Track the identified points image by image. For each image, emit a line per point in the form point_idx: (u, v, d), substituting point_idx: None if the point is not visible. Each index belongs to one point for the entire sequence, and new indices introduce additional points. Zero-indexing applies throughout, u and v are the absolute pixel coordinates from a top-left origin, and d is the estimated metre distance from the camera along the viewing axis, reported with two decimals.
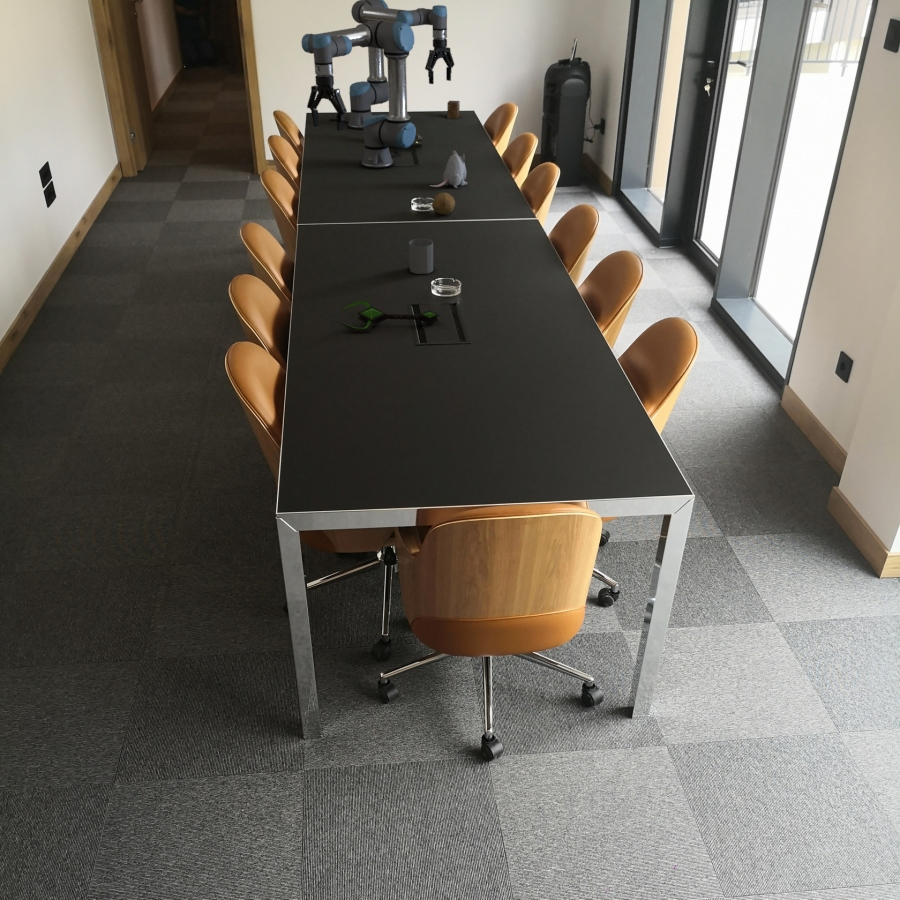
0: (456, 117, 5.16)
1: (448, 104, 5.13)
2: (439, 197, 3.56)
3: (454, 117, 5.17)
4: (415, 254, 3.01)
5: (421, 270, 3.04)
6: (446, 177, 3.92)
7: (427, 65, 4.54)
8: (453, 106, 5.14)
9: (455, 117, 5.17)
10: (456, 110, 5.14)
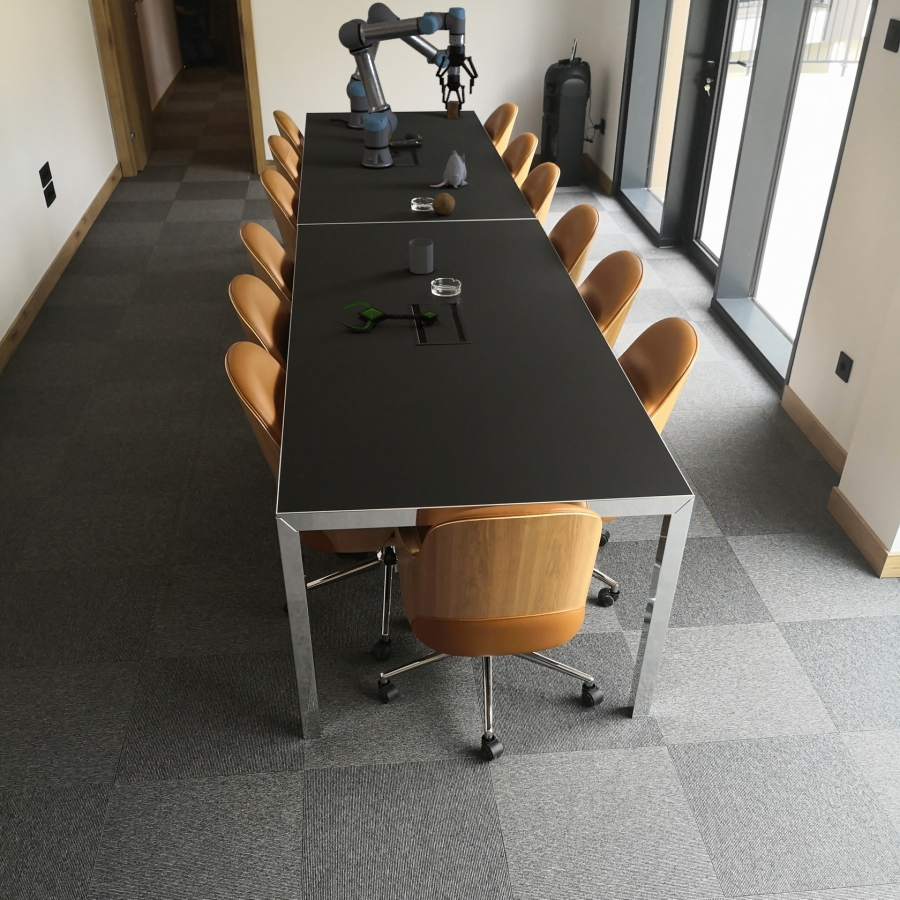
0: (456, 117, 5.16)
1: (448, 104, 5.13)
2: (439, 197, 3.56)
3: (454, 117, 5.17)
4: (415, 254, 3.01)
5: (421, 270, 3.04)
6: (446, 177, 3.92)
7: None
8: (453, 106, 5.14)
9: (455, 117, 5.17)
10: (456, 110, 5.14)
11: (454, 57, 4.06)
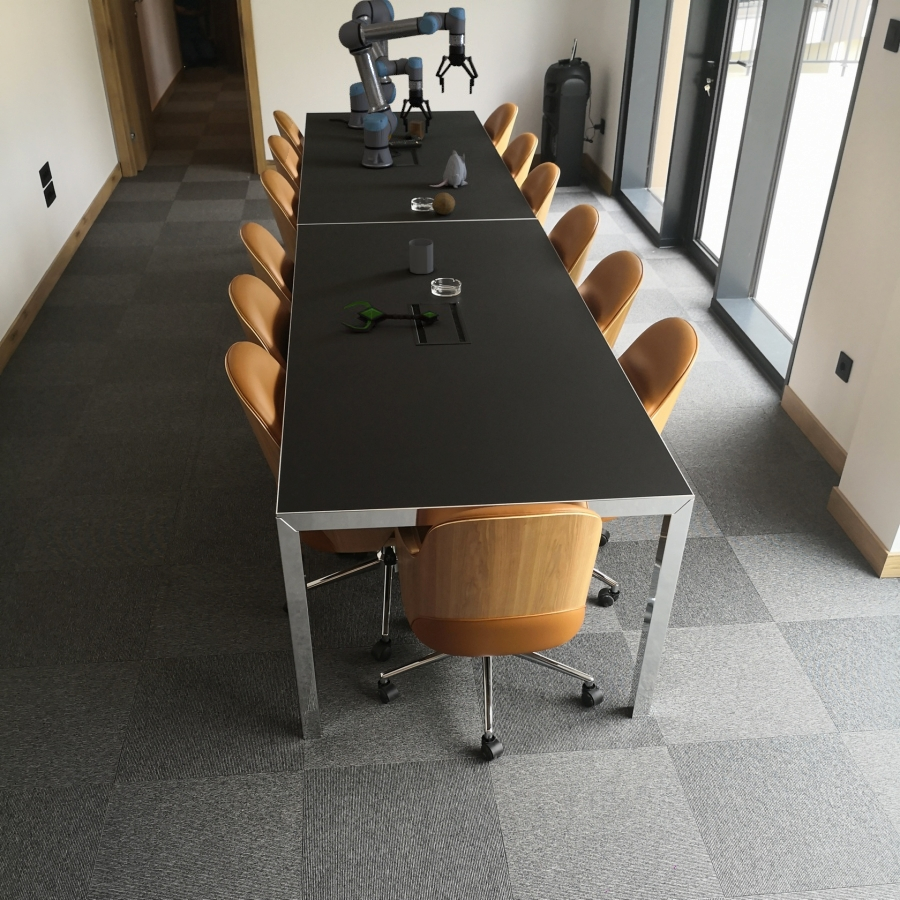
0: None
1: (410, 124, 4.68)
2: (439, 197, 3.56)
3: None
4: (415, 254, 3.01)
5: (421, 270, 3.04)
6: (446, 177, 3.92)
7: (401, 113, 4.69)
8: (415, 127, 4.68)
9: None
10: (419, 131, 4.69)
11: (454, 57, 4.06)
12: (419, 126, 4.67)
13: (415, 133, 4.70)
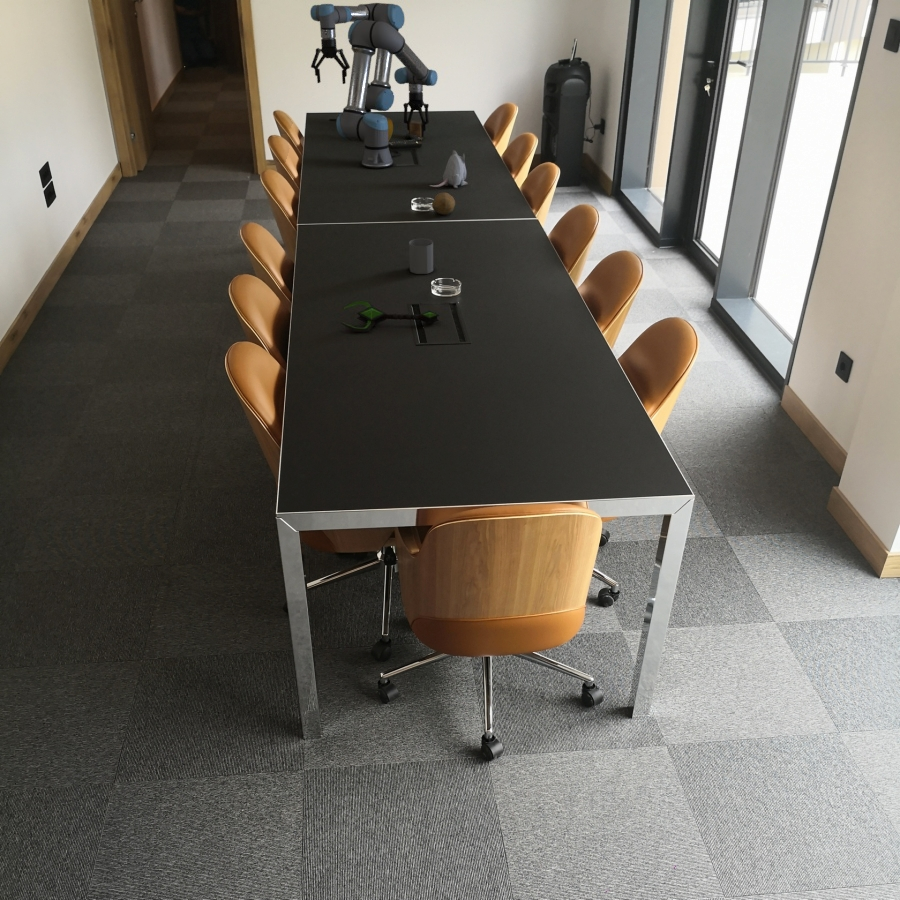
0: None
1: (410, 124, 4.68)
2: (439, 197, 3.56)
3: None
4: (415, 254, 3.01)
5: (421, 270, 3.04)
6: (446, 177, 3.92)
7: None
8: (415, 127, 4.68)
9: None
10: (419, 131, 4.69)
11: (413, 102, 4.63)
12: (419, 126, 4.67)
13: (415, 133, 4.70)
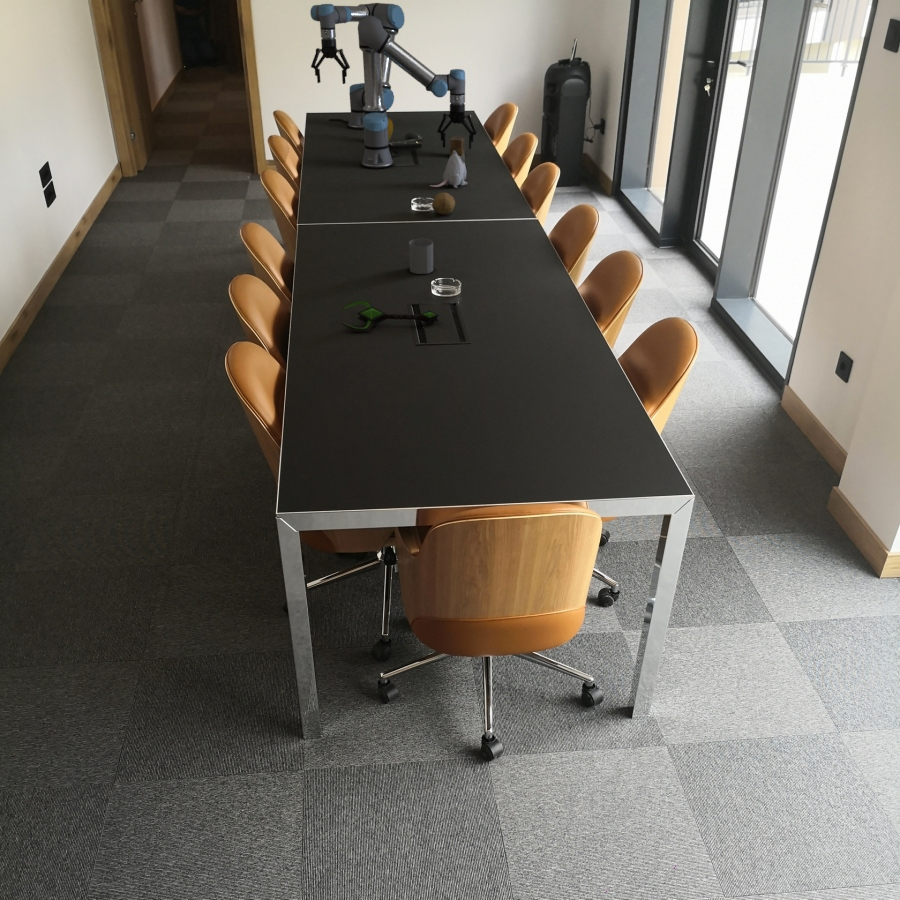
0: None
1: (451, 141, 4.36)
2: (439, 197, 3.56)
3: None
4: (415, 254, 3.01)
5: (421, 270, 3.04)
6: (446, 177, 3.92)
7: None
8: (456, 144, 4.36)
9: None
10: (460, 148, 4.37)
11: (454, 115, 4.31)
12: (460, 143, 4.35)
13: (456, 150, 4.38)
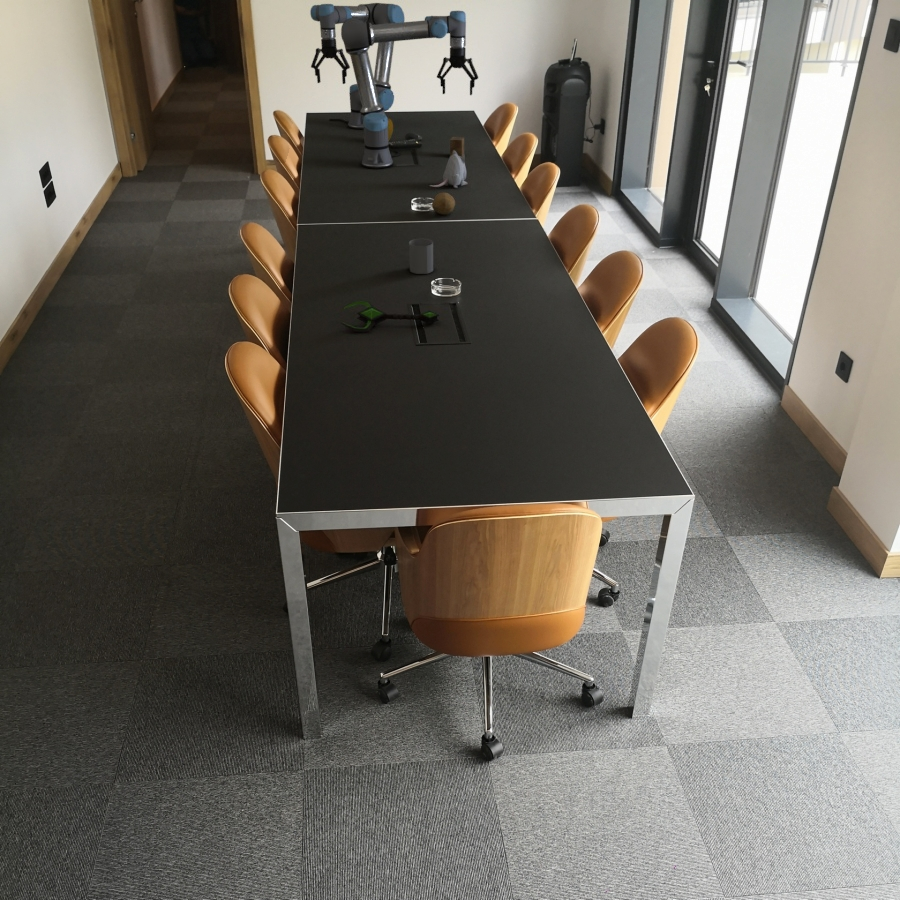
0: None
1: (451, 141, 4.36)
2: (439, 197, 3.56)
3: None
4: (415, 254, 3.01)
5: (421, 270, 3.04)
6: (446, 177, 3.92)
7: None
8: (456, 144, 4.36)
9: None
10: (460, 148, 4.37)
11: (455, 59, 4.17)
12: (460, 143, 4.35)
13: (456, 150, 4.38)
